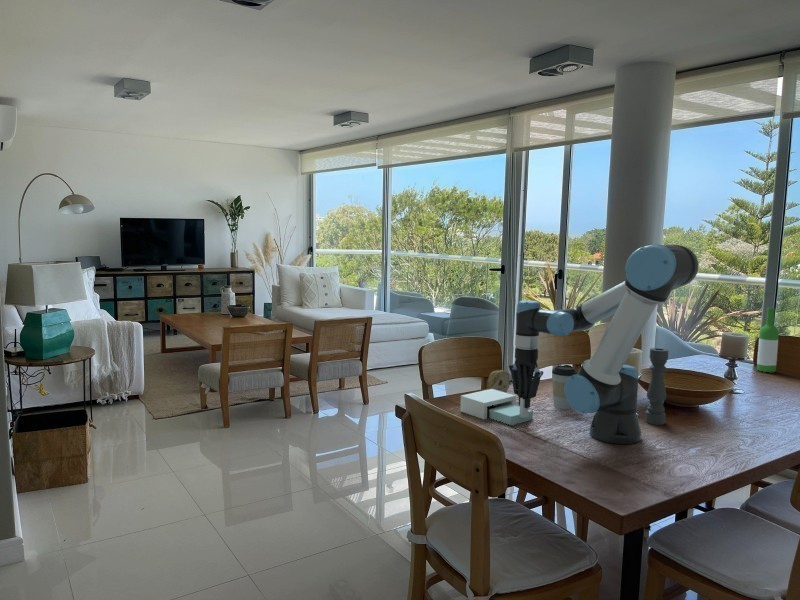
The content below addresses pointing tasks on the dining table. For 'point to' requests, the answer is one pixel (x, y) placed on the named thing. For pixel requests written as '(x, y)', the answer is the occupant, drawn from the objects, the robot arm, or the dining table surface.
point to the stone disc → (498, 381)
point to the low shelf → (485, 402)
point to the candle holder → (657, 387)
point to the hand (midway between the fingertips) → (523, 416)
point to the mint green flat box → (509, 414)
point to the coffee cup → (561, 385)
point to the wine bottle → (768, 344)
